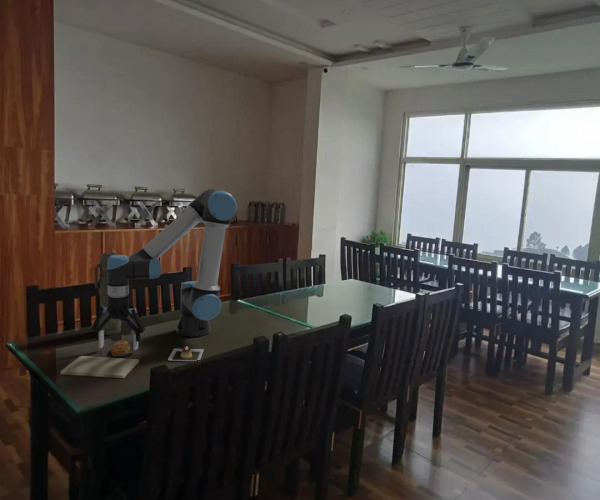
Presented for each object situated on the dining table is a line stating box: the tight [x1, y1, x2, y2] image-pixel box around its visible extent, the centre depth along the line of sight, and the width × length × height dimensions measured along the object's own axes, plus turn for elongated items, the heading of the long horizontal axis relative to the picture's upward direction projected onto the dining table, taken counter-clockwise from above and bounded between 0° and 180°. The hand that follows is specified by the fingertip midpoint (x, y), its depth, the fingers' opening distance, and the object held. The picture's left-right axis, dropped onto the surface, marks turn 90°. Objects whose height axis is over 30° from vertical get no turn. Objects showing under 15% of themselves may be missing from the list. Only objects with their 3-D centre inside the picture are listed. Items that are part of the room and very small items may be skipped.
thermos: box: [93, 252, 122, 336], centre depth 199 cm, size 9×12×35 cm
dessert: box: [167, 345, 205, 362], centre depth 180 cm, size 12×12×5 cm
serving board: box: [59, 355, 140, 379], centre depth 165 cm, size 22×14×1 cm, turn 88°
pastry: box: [110, 340, 131, 357], centre depth 179 cm, size 9×7×4 cm
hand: (118, 348), depth 179 cm, fingers open, 13 cm apart
